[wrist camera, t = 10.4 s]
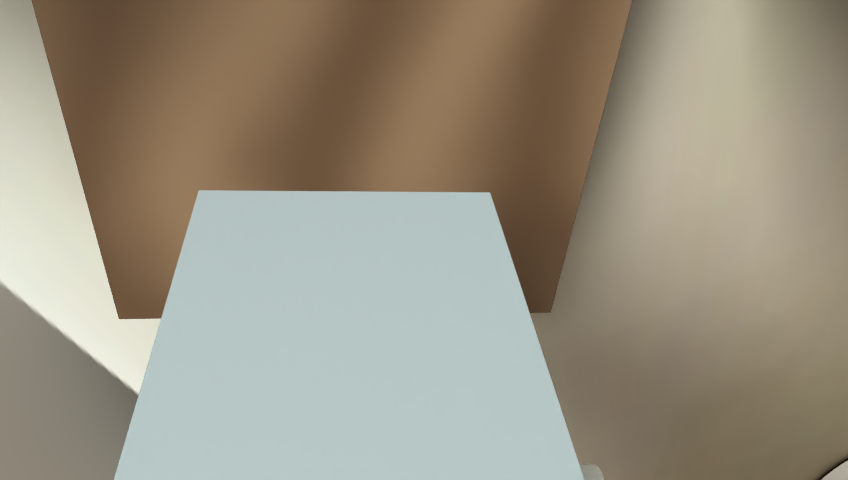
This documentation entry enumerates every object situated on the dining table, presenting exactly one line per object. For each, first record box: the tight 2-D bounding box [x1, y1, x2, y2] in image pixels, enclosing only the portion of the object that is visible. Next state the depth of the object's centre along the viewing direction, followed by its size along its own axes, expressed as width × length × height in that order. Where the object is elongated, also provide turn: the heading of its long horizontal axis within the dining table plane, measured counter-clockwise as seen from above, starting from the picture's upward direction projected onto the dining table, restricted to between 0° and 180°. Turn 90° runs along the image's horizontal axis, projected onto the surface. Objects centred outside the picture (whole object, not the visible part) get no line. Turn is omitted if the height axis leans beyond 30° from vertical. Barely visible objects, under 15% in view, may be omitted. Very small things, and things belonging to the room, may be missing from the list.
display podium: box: [32, 0, 632, 319], centre depth 23 cm, size 17×17×5 cm
